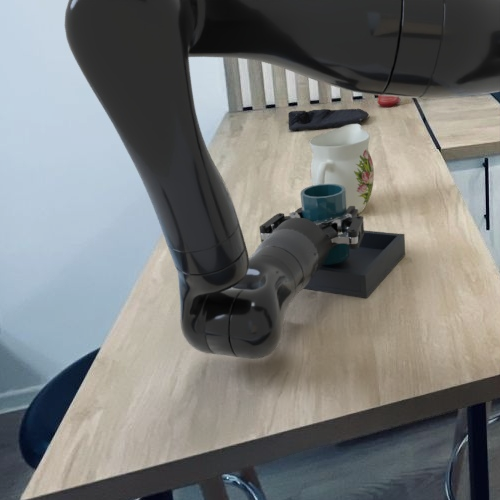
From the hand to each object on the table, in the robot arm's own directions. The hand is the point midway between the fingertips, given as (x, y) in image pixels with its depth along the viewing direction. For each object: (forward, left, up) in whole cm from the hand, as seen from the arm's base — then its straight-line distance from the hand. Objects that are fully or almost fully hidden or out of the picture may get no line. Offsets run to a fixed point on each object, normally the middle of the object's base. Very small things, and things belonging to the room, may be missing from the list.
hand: (329, 211), depth 95 cm
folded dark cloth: (+42, -85, -8) cm, 95 cm away
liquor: (+33, -108, -8) cm, 113 cm away
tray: (0, +2, -8) cm, 8 cm away
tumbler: (0, +2, -6) cm, 6 cm away
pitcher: (+8, -20, -8) cm, 23 cm away
